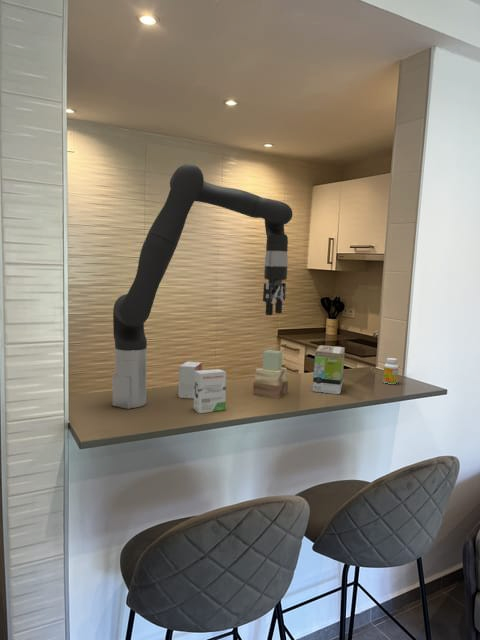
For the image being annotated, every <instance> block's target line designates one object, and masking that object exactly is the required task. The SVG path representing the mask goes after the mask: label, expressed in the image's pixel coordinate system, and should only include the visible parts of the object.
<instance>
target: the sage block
mask: <svg viewBox="0 0 480 640" xmlns="http://www.w3.org/2000/svg"><path fill="white" fill-rule="evenodd" d="M282 364H283V350H282V351H281V350H274V349H267V350H265V351H263V352H262V366H263V370H270V371H278V370H280V369H281V368H283V367H282Z"/></svg>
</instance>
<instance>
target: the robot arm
mask: <svg viewBox="0 0 480 640" xmlns="http://www.w3.org/2000/svg"><path fill="white" fill-rule="evenodd" d="M204 179H205V178H204V174H203V172H202V170H201V168H200V167H199V166H197V165H195V164H192V163H185V164H182V165H180V166H179V167H177V169H175V171H174V172H173V174H172V176H171V177H170V180H169V188H170V190H169V192H168V196H167V198H166V201H165V202H164V205H163V206H162V207H161V210H160V211H159V213H158V214H157V216H156V218H155V220H154V222H152V225H151V227H150V229H149V230H148V232H147V235H146V237H145V240H144V242H143V244H142V247H141V250H140V254H139V258H138V265H137V270H136V274H135V277H134V280H133V282H132V284H131V286H130V288H129V290H128V292H127V293H126V294H122V295H120V296H119V297H118V298H117V299H116V300H115V302H114V303H113V304H114V305H113V309H112V310H113V313H112V314H113V315H112V316H113V317H112V323H113V339H114V374H113V375H112V406H113V407H118V408H122V409H127V410H129V409H134V408H141V407H143V406H145V405H146V404H147V356H148V355H147V352H148V351H147V349H148V348H147V346H148V344H147V342H148V340H147V336H146V335H145V323H146V321H147V320H148V319H149V317H150V315H151V311H152V308H153V306H154V301H155V298H156V295H157V292H158V289H159V286H160V284H161V282H162V280H163V278H164V276H165V274H166V271H167V269H168V267H169V265H170V263H171V261H172V258H173V256H174V253H175V252H176V249H177V247H178V245H179V244H178V243H179V242H180V239H181V236H182V233H183V230H184V227H185V225H186V221H187V218H188V215H189V213H190V210H191V208H192V206H193V205H194V203H195V202H199V203H203V204H208V205H211V206H217V207H221V208H223V209H226V210H230V211H231V212H235V213H238V214H241V215H244V216H247V217H250V218H254V219H264V226H265V228H264V229H265V234H266V235H265V236H266V243H265V244H266V247H265V257H264V273H263V275H264V276H263V277H264V280H268V282H264V283H263V291H262V293H263V295H262V302H264V304H265V316H273V312H275V313H276V314H282V313H283V303H284V301H285V300H286V289H287V288H286V282H283V281H287V279H288V264H289V256H288V248H289V245H288V244H289V240H288V235H287V234H286V233H285V225H286V224H288V223H289V222H290V221H291V220H292V218H293V209H292V207H291V206H290V205H289V204H287V203H286V202H283V201H281V200H276V199H272V198H267V197H262V196H259V195H257V194H254V193H252V192H249V191H245V190H243V189H238V188H233V187H232V188H231V187H226V186H225V187H224V186H220V185H216V184H213V183H210V182H207V181H205V180H204ZM274 301H275V307H274ZM274 308H275V309H274ZM274 310H275V311H274Z"/></svg>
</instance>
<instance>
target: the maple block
mask: <svg viewBox="0 0 480 640" xmlns="http://www.w3.org/2000/svg"><path fill="white" fill-rule="evenodd" d="M254 375H255V376H254V382H256V383H262V384H269V385H275V386H278V385H279V384H281V383H283V382H285V381H287V368H286V367H282V368H281V369H280V370H278V371H270V370H263V365H262V366H260V367H258V368H255V374H254Z"/></svg>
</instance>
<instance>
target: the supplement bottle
mask: <svg viewBox="0 0 480 640" xmlns="http://www.w3.org/2000/svg"><path fill="white" fill-rule="evenodd" d="M385 361H386V363H385V364H384V365H383V378H382V383H383V382H384V383H383V384H385V383H388V384H396V383H397V384H398V381H399V365H398V358H395V357H387V358H386V360H385ZM388 384H387V385H388ZM397 384H396V385H397Z"/></svg>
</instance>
